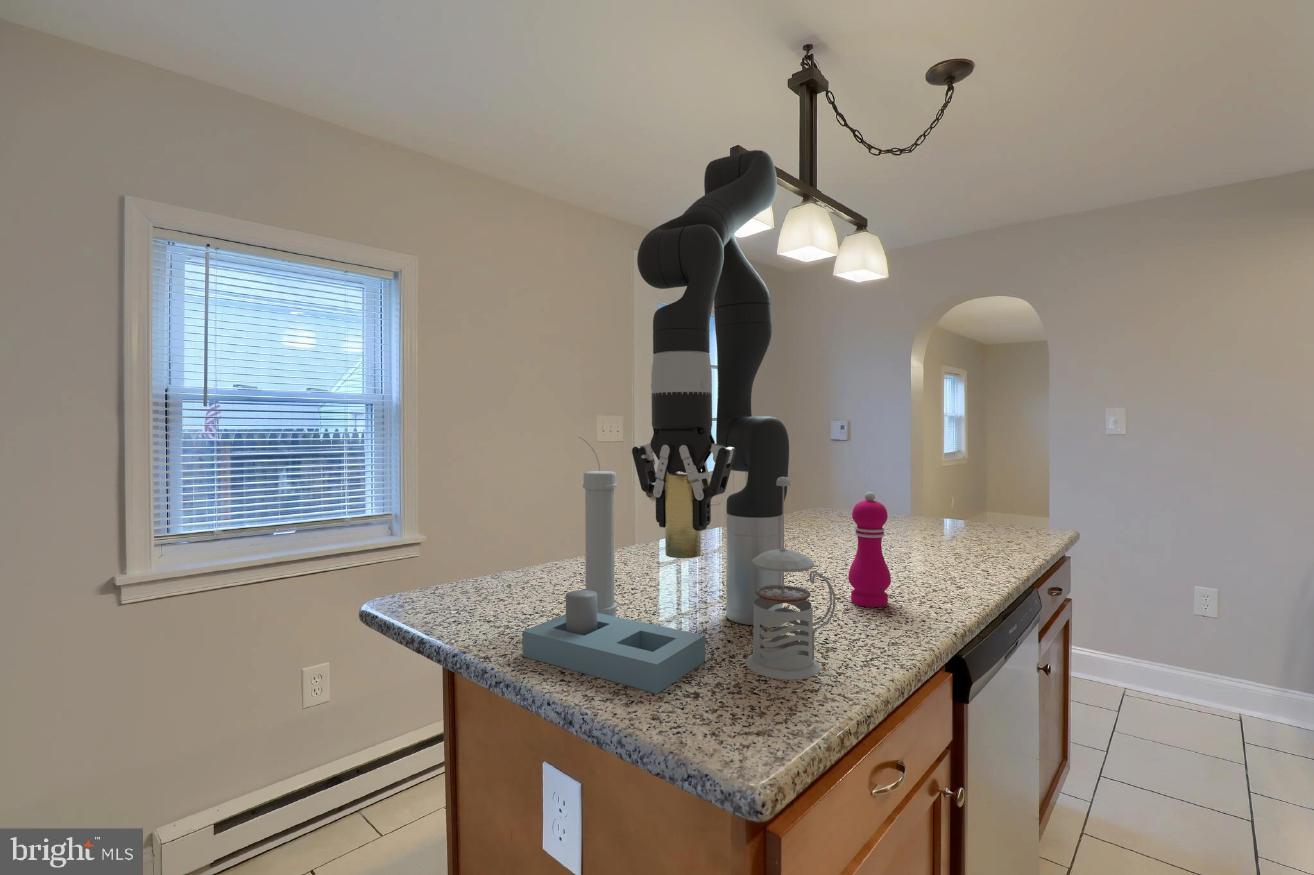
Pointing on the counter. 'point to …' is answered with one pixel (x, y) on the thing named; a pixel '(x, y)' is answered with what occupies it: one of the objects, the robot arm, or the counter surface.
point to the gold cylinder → (680, 518)
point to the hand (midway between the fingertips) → (682, 527)
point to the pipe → (600, 536)
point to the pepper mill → (869, 555)
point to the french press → (785, 617)
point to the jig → (614, 646)
